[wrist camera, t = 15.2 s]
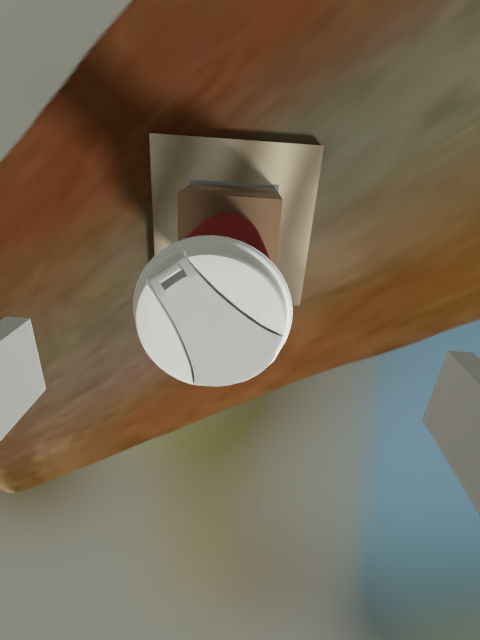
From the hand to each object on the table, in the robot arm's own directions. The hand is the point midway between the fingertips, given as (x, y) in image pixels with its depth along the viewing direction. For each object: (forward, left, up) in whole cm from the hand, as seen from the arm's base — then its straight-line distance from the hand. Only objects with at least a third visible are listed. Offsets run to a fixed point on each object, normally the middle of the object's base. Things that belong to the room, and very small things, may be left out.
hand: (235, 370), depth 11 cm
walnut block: (+1, +1, -27) cm, 26 cm away
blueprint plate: (+1, +1, -28) cm, 28 cm away
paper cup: (+1, +1, -19) cm, 19 cm away
